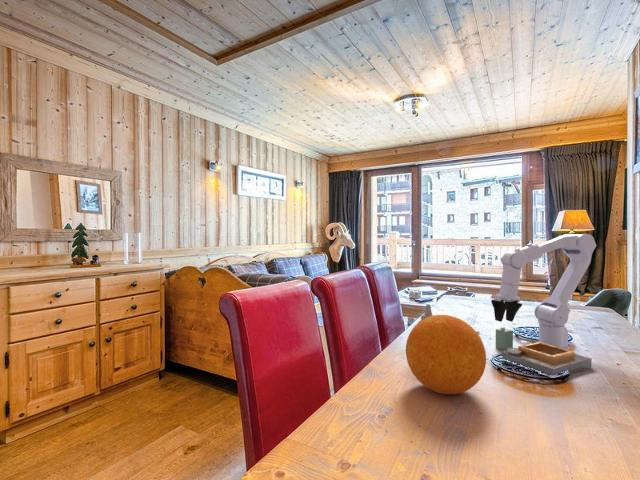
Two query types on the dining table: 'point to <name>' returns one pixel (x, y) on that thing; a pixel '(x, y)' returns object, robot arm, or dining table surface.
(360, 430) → the dining table surface
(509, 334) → the spout tin
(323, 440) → the dining table surface
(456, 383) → the decorative sphere
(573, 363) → the grey framed base plate
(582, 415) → the dining table surface
